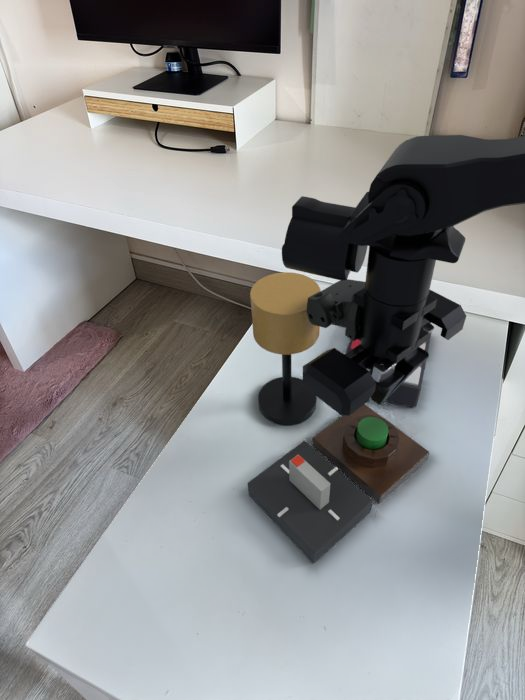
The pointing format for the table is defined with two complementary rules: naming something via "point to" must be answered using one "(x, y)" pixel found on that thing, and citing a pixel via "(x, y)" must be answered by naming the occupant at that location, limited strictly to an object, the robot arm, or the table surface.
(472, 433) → the table surface
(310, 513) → the panel
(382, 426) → the power button
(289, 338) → the desk lamp
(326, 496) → the dimmer knob
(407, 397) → the calculator
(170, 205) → the table surface
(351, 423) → the switch block
